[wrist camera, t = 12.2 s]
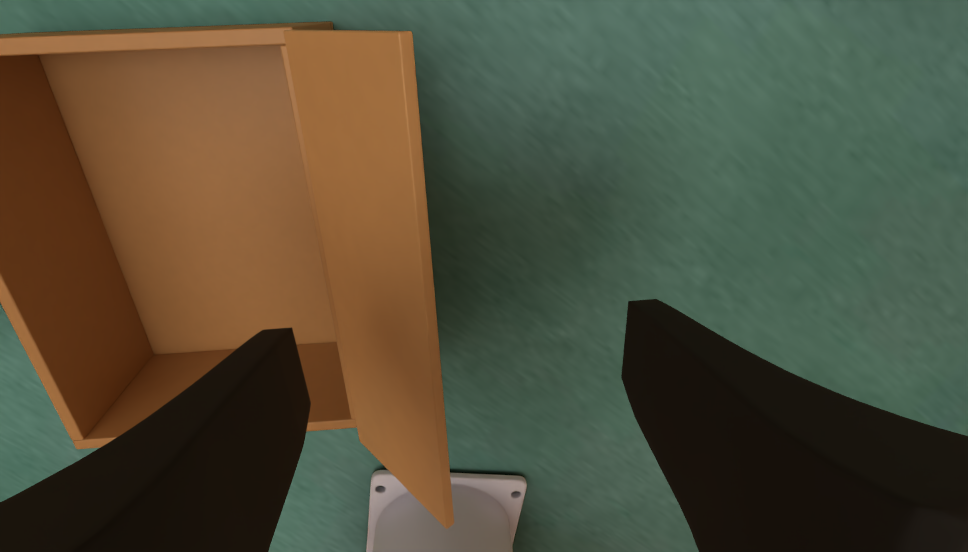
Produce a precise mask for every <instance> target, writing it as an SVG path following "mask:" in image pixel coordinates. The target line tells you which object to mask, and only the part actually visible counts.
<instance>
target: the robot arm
mask: <svg viewBox="0 0 968 552" xmlns="http://www.w3.org/2000/svg"><path fill="white" fill-rule="evenodd" d="M622 380H623V383H624V386H625V390H626V393H627V396H628V399H629V402H630V404H631V407H632V410H633V413H634V415H635V418H636V420H637V422H638V424H639V426H640V428H641V430H642V432H643V434H644V436H645V438H646V440H647V442H648V444H649V446H650V448H651V450H652V452H653V454H654V456H655V458H656V460H657V462H658V464H659V466H660V468H661V470H662V472H663V474H664V475H665V477H666V479H667V481H668V483H669V485H670V487H671V489H672V491H673V493H674V495H675V497H676V499H677V501H678V503H679V505H680V507H681V509H682V511H683V513H684V516H685V518H686V520H687V522H688V524H689V527H690V529H691V532H692V534H693V537H694V539H695V542H696V545H697V547H698V550H699V552H968V436H965V435H961V434H958V433H954V432H951V431H947V430H944V429H940V428H937V427H933V426H930V425H927V424H924V423H921V422H917V421H914V420H911V419H908V418H905V417H902V416H899V415H896V414H893V413H890V412H888V411H885V410H882V409H879V408H876V407H873V406H870V405H868V404H865V403H862V402H859V401H857V400H854V399H851V398H849V397H846V396H844V395H841V394H839V393H836V392H834V391H831V390H829V389H827V388H824V387H822V386H820V385H817V384H815V383H813V382H810V381H808V380H806V379H803V378H801V377H799V376H797V375H794V374H792V373H790V372H788V371H786V370H784V369H782V368H780V367H778V366H776V365H774V364H772V363H770V362H768V361H766V360H764V359H762V358H760V357H758V356H756V355H754V354H752V353H751V352H749V351H747V350H745V349H743V348H741V347H740V346H738V345H736V344H734V343H732V342H731V341H729V340H727V339H725V338H724V337H722V336H720V335H718V334H717V333H715V332H713V331H711V330H710V329H708V328H706V327H705V326H703V325H701V324H700V323H698V322H696V321H695V320H693V319H691V318H690V317H688V316H686V315H685V314H683V313H681V312H679V311H678V310H676V309H674V308H672V307H671V306H669V305H667V304H665V303H663V302H661V301H659V300H657V299H651V300H638V301H628V312H627V323H626V334H625V344H624V355H623V366H622ZM310 407H311V401H310V397H309V393H308V389H307V385H306V381H305V377H304V373H303V369H302V365H301V361H300V357H299V353H298V349H297V345H296V341H295V337H294V333H293V329H292V327H291V328H278V329H265V330H262V331H260V332H259V333H257V334H256V335H254V336H253V337H252V338H250V339H249V340H248V341H246V342H245V343H244V344H242V345H241V346H240V347H239V348H237V349H236V350H235V351H234V352H232V353H231V354H230V355H229V356H227V357H226V358H225V359H224V360H222V361H221V362H220V363H219V364H217V365H216V366H215V367H214V368H212V369H211V370H210V371H209V372H207V373H206V374H205V375H203V376H202V377H201V378H200V379H198V380H197V381H196V382H195V383H193V384H192V385H191V386H189V387H188V388H187V389H185V390H184V391H183V392H181V393H180V394H179V395H177V396H176V397H174V398H173V399H172V400H170V401H169V402H168V403H166V404H165V405H163V406H162V407H161V408H159V409H158V410H157V411H155V412H154V413H152V414H151V415H150V416H148V417H147V418H146V419H144V420H143V421H141V422H140V423H138V424H137V425H135V426H134V427H132V428H131V429H129V430H128V431H126V432H125V433H123V434H122V435H120V436H118V437H117V438H115V439H114V440H112V441H110V442H109V443H107V444H105V445H104V446H102V447H101V448H99V449H97V450H96V451H94V452H92V453H91V454H89V455H87V456H86V457H84V458H82V459H81V460H79V461H77V462H75V463H74V464H72V465H70V466H68V467H66V468H64V469H63V470H61V471H59V472H57V473H55V474H53V475H51V476H50V477H48V478H46V479H44V480H42V481H40V482H39V483H37V484H35V485H33V486H31V487H29V488H28V489H26V490H24V491H22V492H20V493H18V494H16V495H14V496H12V497H11V498H9V499H7V500H5V501H2V502H0V552H268V550H269V547H270V544H271V541H272V538H273V535H274V532H275V529H276V526H277V523H278V520H279V517H280V514H281V511H282V508H283V505H284V502H285V499H286V497H287V494H288V491H289V488H290V485H291V482H292V479H293V476H294V473H295V470H296V467H297V464H298V461H299V458H300V454H301V451H302V448H303V444H304V440H305V435H306V430H307V424H308V418H309V413H310ZM450 479H451V491H452V502H453V514H454V524H453V525H452V526H451V527H449V528H448V529H446V528H445V527H444V526H443V525H442V524H441V523H440V522H439V521H438V520H437V519H436V518H435V517H434V516H433V515H432V514H431V513H430V512H429V511H428V510H427V509H426V508H425V507H424V506H423V505H422V504H421V503H420V502H419V501H418V500H417V499H416V498H415V497H414V496H413V495H412V494H411V493H410V492H409V491H408V490H407V489H406V488H405V487H404V486H403V484H402V483H401V482H400V481H399V480H398V479H397V478H396V477H395V476H394V475H393V474H392V473H391V472H390V471H389V470H377V471H375V472H374V473H373V474H372V478H371V489H370V504H369V519H368V535H367V550H366V552H513V548H512V545H513V541H514V537H515V532H516V528H517V524H518V520H519V516H520V512H521V508H522V504H523V500H524V496H525V492H526V488H527V484H526V480H525V478H524V477H522V476H516V475H493V474H470V473H450ZM379 486H383V487H379ZM514 491H517V492H514Z"/></svg>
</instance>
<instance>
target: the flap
mask: <svg viewBox="0 0 968 552" xmlns="http://www.w3.org/2000/svg"><path fill="white" fill-rule="evenodd" d="M283 33H284V38H285V44H286V49H287V54H288V60H289V65H290V70H291V76H292V81H293V86H294V92H295V97H296V103H297V108H298V113H299V119H300V124H301V129H302V135H303V140H304V145H305V151H306V156H307V161H308V167H309V172H310V177H311V183H312V188H313V194H314V199H315V204H316V210H317V215H318V220H319V226H320V231H321V236H322V242H323V247H324V252H325V258H326V263H327V268H328V274H329V279H330V285H331V290H332V295H333V301H334V306H335V311H336V317H337V322H338V327H339V333H340V338H341V343H342V349H343V354H344V359H345V365H346V370H347V376H348V381H349V386H350V392H351V397H352V402H353V408H354V413H355V418H356V424H357V429H358V434H359V440H360V442H361V443H362V444H363V445H364V446H365V447H366V448H367V449H368V450H369V451H370V452H371V453H372V454H373V455H374V456H375V457H376V458H377V459H378V460H379V461H380V462H381V463H382V464H383V465H384V466H385V467H386V468H387V469H388V470H389V471H390V472H391V473H392V474H393V475H394V476H395V477H396V478H397V479H398V480H399V481H400V482H401V483H402V484H403V486H404V487H405V488H406V489H407V490H408V491H409V492H410V493H411V494H412V495H413V496H414V497H415V498H416V499H417V500H418V501H419V502H420V503H421V504H422V505H423V506H424V507H425V508H426V509H427V510H428V511H429V512H430V513H431V514H432V515H433V516H434V517H435V518H436V519H437V520H438V521H439V522H440V523H441V524H442V525H443V526H444V527H445V528H446V529H448V528H449V527H451V526H452V525H453V524H454V514H453V502H452V491H451V479H450V467H449V456H448V444H447V432H446V421H445V409H444V397H443V386H442V374H441V362H440V351H439V339H438V327H437V316H436V304H435V292H434V281H433V269H432V257H431V246H430V234H429V222H428V210H427V199H426V187H425V175H424V164H423V152H422V140H421V129H420V117H419V105H418V94H417V82H416V70H415V59H414V47H413V35H412V32H411V31H368V30H284V31H283Z"/></svg>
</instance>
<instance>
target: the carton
mask: <svg viewBox="0 0 968 552" xmlns="http://www.w3.org/2000/svg"><path fill="white" fill-rule="evenodd" d="M284 30H333V23H332V22H331V21H330V22H303V23H276V24H249V25H222V26H195V27H168V28H141V29H115V30H88V31H61V32H34V33H15V34H0V303H1V304H2V306H3V308H4V310H5V312H6V314H7V316H8V318H9V320H10V322H11V324H12V326H13V328H14V330H15V331H16V333H17V335H18V337H19V339H20V341H21V343H22V345H23V347H24V349H25V351H26V353H27V355H28V356H29V358H30V360H31V362H32V364H33V366H34V368H35V370H36V372H37V374H38V376H39V378H40V380H41V382H42V383H43V385H44V387H45V389H46V391H47V393H48V395H49V397H50V399H51V401H52V403H53V405H54V407H55V408H56V410H57V412H58V414H59V416H60V418H61V420H62V422H63V424H64V426H65V428H66V430H67V432H68V434H69V435H70V437H71V439H72V440H73V443H74V445H75V447H76V449H85V448H98V447H102V446H104V445H105V444H107V443H109V442H110V441H112V440H114V439H115V438H117V437H118V436H120V435H122V434H123V433H125V432H126V431H128V430H129V429H131V428H132V427H134V426H135V425H137V424H138V423H140V422H141V421H143V420H144V419H146V418H147V417H148V416H150V415H151V414H152V413H154V412H155V411H157V410H158V409H159V408H161V407H162V406H163V405H165V404H166V403H168V402H169V401H170V400H172V399H173V398H174V397H176V396H177V395H179V394H180V393H181V392H183V391H184V390H185V389H187V388H188V387H189V386H191V385H192V384H193V383H195V382H196V381H197V380H198V379H200V378H201V377H202V376H203V375H205V374H206V373H207V372H209V371H210V370H211V369H212V368H214V367H215V366H216V365H217V364H219V363H220V362H221V361H222V360H224V359H225V358H226V357H227V356H229V355H230V354H231V353H232V352H234V351H235V350H236V349H237V348H239V347H240V346H241V345H242V344H244V343H245V342H246V341H248V340H249V339H250V338H252V337H253V336H254V335H256V334H257V333H259V332H260V331H262V330H265V329H278V328H291V327H292V329H293V333H294V337H295V341H296V345H297V349H298V353H299V357H300V361H301V365H302V369H303V373H304V377H305V381H306V385H307V389H308V393H309V397H310V401H311V407H310V413H309V418H308V424H307V430H306V431H317V430H330V429H343V428H356V427H357V424H356V418H355V413H354V408H353V402H352V397H351V392H350V386H349V381H348V376H347V370H346V365H345V359H344V354H343V349H342V343H341V338H340V333H339V327H338V322H337V317H336V311H335V306H334V301H333V295H332V290H331V285H330V279H329V274H328V268H327V263H326V258H325V252H324V247H323V242H322V236H321V231H320V226H319V220H318V215H317V210H316V204H315V199H314V194H313V188H312V183H311V177H310V172H309V167H308V161H307V156H306V151H305V145H304V140H303V135H302V129H301V124H300V119H299V113H298V108H297V103H296V97H295V92H294V86H293V81H292V76H291V70H290V65H289V60H288V54H287V49H286V44H285V38H284V33H283V31H284Z"/></svg>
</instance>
